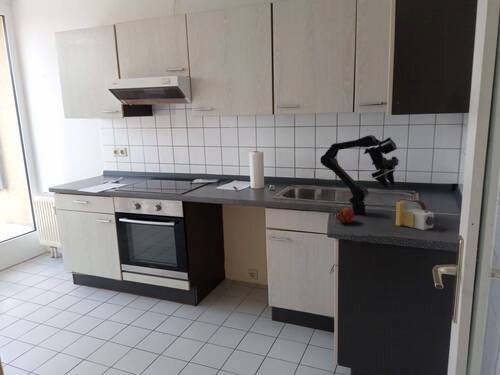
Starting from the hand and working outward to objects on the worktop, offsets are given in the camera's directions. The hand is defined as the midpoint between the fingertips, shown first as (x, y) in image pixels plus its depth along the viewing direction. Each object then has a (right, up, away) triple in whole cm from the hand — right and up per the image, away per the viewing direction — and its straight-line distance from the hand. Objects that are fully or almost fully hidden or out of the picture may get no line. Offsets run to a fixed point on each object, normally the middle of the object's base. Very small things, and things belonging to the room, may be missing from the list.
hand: (390, 186), depth 193 cm
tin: (+13, -15, +8) cm, 21 cm away
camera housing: (+9, -19, -12) cm, 24 cm away
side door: (+2, -19, -12) cm, 22 cm away
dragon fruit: (-23, -18, -1) cm, 29 cm away
